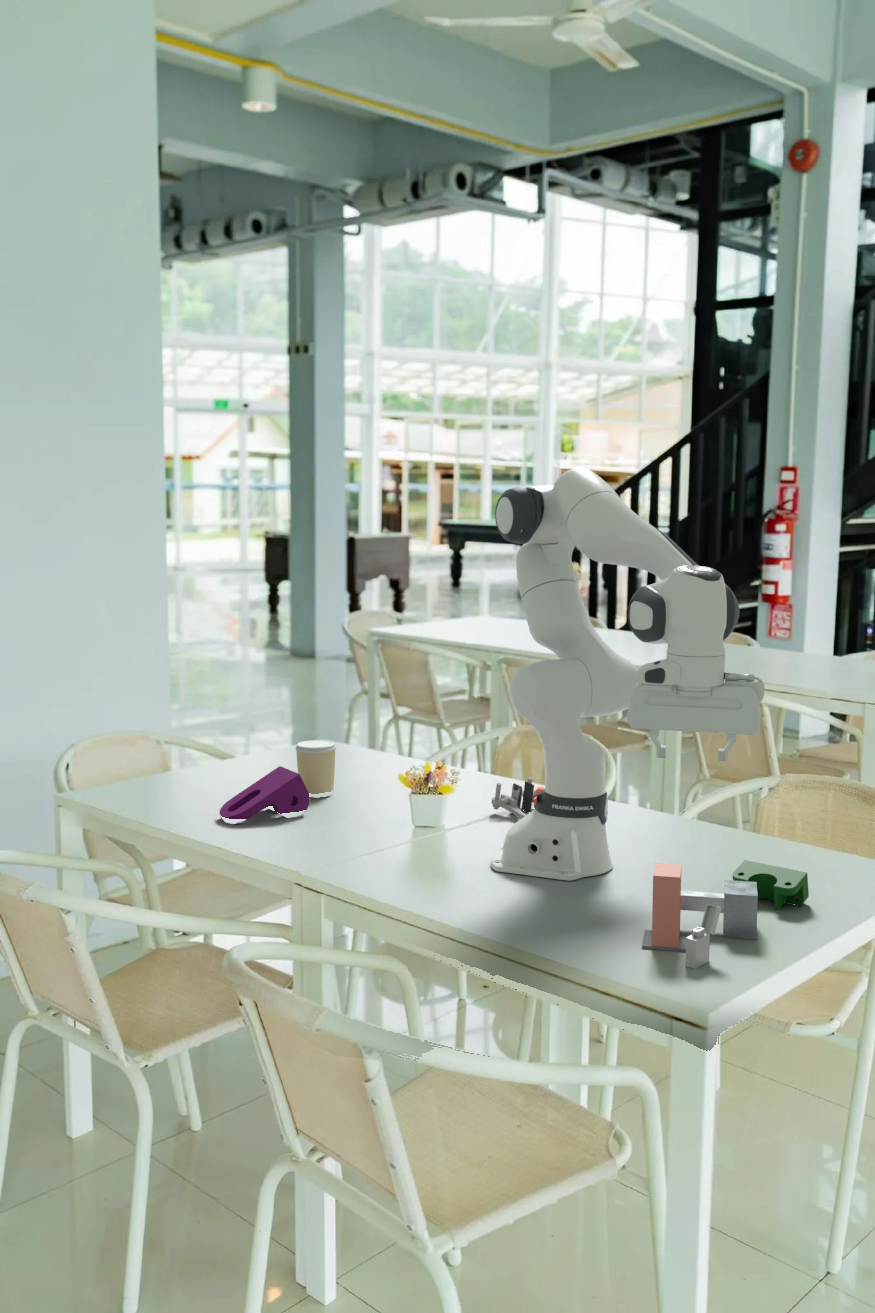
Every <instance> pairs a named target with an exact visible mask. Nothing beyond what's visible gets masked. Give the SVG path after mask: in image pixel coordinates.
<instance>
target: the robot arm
mask: <svg viewBox="0 0 875 1313" xmlns="http://www.w3.org/2000/svg"><path fill="white" fill-rule="evenodd" d="M496 502H497V503H496V504H495V505H496V507H495V512H494V516H495V518H494V519H495V525H496V528H497V531H498V532H499V534H500V536H501V537H502V538H503V539H504V540H505V541H507V542H509V543H513V544H520V545H521V546H520V547H519V549H518V550H517V553H516V557H515V562H516V563H515V565H516V579H517V583H518V589H519V596H520V598H521V603H522V606H523V611H524V614H525V617H526V621H527V622H526V623H527V625H528V630H529V633H530V635H531V637H532V638H533V640H534V641H535V642H536V643H537V644H539V645H540V646H542V647H544V648H546V649H548V650H550V651H551V652H552V653H554V654H555V655H556V656H557V657H558V659H545V660H544V659H543V660H540V661H536V662H532V663H529V664H526V665H523V666H520V667H518V668H517V670H516V671H515V672H514V674H513V676H512V678H511V680H510V685H509V698H510V701H511V705H512V706H513V708H514V710H515V711H516V713H517V714H518V715H519V716H521V717H522V718H523V719H525V720H526V721H527V722H528V723H529V724H530V725H531V726H532V728H533V729H534V730H535V732H536V734H537V735H538V736H537V737H538V738H539V740H540V743H541V746H542V752H543V758H544V759H543V762H544V764H543V765H544V786H538V787H536V789H534V791H535V792H534V803H533V808H534V809H533V810H531V812H530V813H526V816H524V817H523V818H522V819H520V818H519V820H517V821H516V822H515V823H514V824H512V825H511V826H510V827H509V829H508V830H507V832H506V833H505V834H506V835H505V837H504V840H503V846H502V848H500V849H498V850H496V851H495V852H494V854H492V856H491V861H490V867H491V868H492V870H494V871H496V872H500V873H509V874H515V875H516V874H517V875H524V876H531V877H538V878H546V879H554V880H561V881H569V882H570V881H575V880H576V881H577V880H579V879H581V878H584V877H585V878H586V877H592V876H598V875H602V874H606V873H608V872H610V871H611V870H612V868H613V866H614V864H613V862H612V858H611V856H610V855H611V854H610V849H609V844H608V837H607V835H608V834H607V826H606V825H607V824H606V823H607V821H608V812H609V810H608V809H609V806H608V805H609V804H608V802H609V801H608V800H609V799H608V792H607V790H606V755H605V754H606V753H605V751H604V750H603V748H602V747H601V745H600V744H599V743H598V742H597V741H595V740H593V739H592V738H590V737H588V736H586V735H585V734H583V731H582V726H581V719H582V718H591V717H603V716H611V715H614V714H618V713H622V712H623V711H626V710H627V716H626V717H627V718H626V719H627V720H626V721H627V724H628V726H630V728H631V729H634V730H635V729H636V730H637V729H638V730H649V738H650V740H651V741H652V743H653V744H654V746H655V748H656V749H655V750H656V752H655V753H656V754H655V755H656V756H655V757H656V758H657V759H666V757H667V748H668V747H667V744H666V745H664V744H662V743H661V741H660V739H659V738H658V737H659V736H660V732H661V731H673V732H674V731H675V732H691V733H708V734H709V733H711V734H726V740H727V741H728V742H727V743H726V745H725V746H724V747H723V748H720V747H719V748H718V752H717V753H718V758H717V760H718V762H721V763H728V762H729V760H728V759H729V752H730V751H731V749H732V748H733V746H734V744H735V743H736V742H737V735H744V736H745V735H746V736H747V735H748V736H755V735H757V733H759V731H761V711H760V710H761V709H760V704H761V702H762V701H763V699H764V697H765V683H764V682H763V680H762V679H760V678H759V677H756V676H755V674H753V673H752V674H751V673H745V674H744V673H743V674H742V673H741V674H740V673H736V672H734V673H733V672H725V670H726V669H725V665H726V648H725V644H724V641H726V639H727V638H728V637H729V636H730V635H731V634H732V633H733V631H734V630H735V628H736V626H737V624H738V621H739V619H740V618H739V617H740V605H739V602H738V599H737V597H736V595H735V593H734V592H733V591H732V589H731V588H730V586H729V585H727V584H726V583H725V579H724V576H723V574H722V573H721V572H720V571H718V570H717V569H715V568H713V567H709V566H703V565H702V566H701V565H699V564H698V563H697V562H696V561H694V559H693V558H691V557H690V555H688V554H687V552H685V551H684V549H682V548H681V547H680V545H678V544H677V543H676V542H675V541H674V540H673V539H672V538H670V536H668V535H667V534H666V533H664V532H663V531H662V530H660V529H658V528H657V527H655V526H654V525H652V524H651V523H649V522H648V521H646V520H645V519H643V518H642V517H641V516H639V515H638V514H637V513H636V512H635V511H634V510H632V508H630V507H629V506H628V505H627V504H626V503H625V502H624V501H623V500H622V499H621V497H620V496H619V494H618V493H617V492H616V491H615V490H614V489H613V488H612V486H611V485H609V483H608V482H607V481H605V480H604V479H603V478H602V477H601V476H599V475H598V474H597V473H596V472H594V471H592V470H591V469H589V468H586V467H576V468H575V467H574V468H570V469H569V470H566V471H565V472H563V473H561V475H560V476H558V478H557V479H556V480H555V482H554V483H551V484H541V485H540V484H539V485H532V486H530V485H529V486H526V485H519V486H515V487H512V488H508V489H506V490H505V491H504V492H502V494H501V495H500V497H499V498H498V500H497V501H496ZM574 550H577V551H579V552H581V553H582V554H583V555H584V556H586V557H587V558H589V560H590V559H591V560H592V561H594V562H597V563H600V564H605V565H606V564H607V565H612V566H613V565H614V566H615V565H616V566H623V567H627V568H628V567H629V568H633V569H634V568H635V569H637V570H638V569H639V570H642V571H646V572H648V573H650V574H652V575H654V576H656V577H658V578H659V579H660V581H657V582H654V583H651V584H648V585H644V586H640V587H639V588H637V590H635V592H634V593H633V594H632V596H631V599H630V601H629V603H628V607H627V621H628V625H629V629H630V630H631V632H632V633H633V635H634V636H635V637H636V638H637V639H639V640H640V641H641V642H642V643H647V644H652V645H656V644H657V645H658V644H659V645H661V644H664V645H665V644H667V649H666V658H663V659H659V660H656V661H652V662H648V663H645V664H642V665H641V666H639V668H638V669H637V667H635V665H634V664H633V663H632V662H631V661H630V660H629V659H627V658H624V657H623V656H621V655H620V654H618V653H617V652H615V651H614V650H613V649H612V648H611V647H610V646H609V644H607V643H606V642H605V641H604V640H603V638H602V637H601V636H600V634H599V633H598V632H597V630H596V629H595V627H594V625H593V623H592V622H591V619H590V616H589V614H588V611H587V609H586V606H585V602H584V599H583V596H582V593H581V589H580V585H579V582H578V579H577V576H576V573H575V570H574V567H573V562H572V560H573V559H572V557H573V552H574Z"/></svg>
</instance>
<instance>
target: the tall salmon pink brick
mask: <svg viewBox="0 0 875 1313" xmlns="http://www.w3.org/2000/svg"><path fill="white" fill-rule="evenodd" d="M682 867H683V866H682V864H675V863H674V864H672V863H670V864H669V863H659V862H658V863H656V862H655V863H654V868H653V873H652V907H651V908H652V911H651V912H652V913H651V914H652V916H651V917H652V918H651V920H652V921H651V930H652V946H660V947H672V948H679V936H680V933H681V911H682V910H681V891H682Z"/></svg>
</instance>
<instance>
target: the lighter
mask: <svg viewBox="0 0 875 1313" xmlns="http://www.w3.org/2000/svg"><path fill="white" fill-rule="evenodd" d="M720 911H721V908H720V907H719V906H716V905H712V904H707V905H706V909H705V912H704V914H703V917H702V922H701V926H696V927H695V928H693V929H691V930H692V931H691V934H690V936H688V937H686V952H685V958H684V959H685V962H684V963H685V967H687V968H689V969H697V968H698V969H699V968H700V967H702V966H703V965H705V964H707V963H709V962H710V943H711V941H710V940H711V935H715V934H716V930H717V926H718V922H719V917H720V914H721V913H720Z"/></svg>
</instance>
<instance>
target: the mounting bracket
mask: <svg viewBox="0 0 875 1313" xmlns="http://www.w3.org/2000/svg"><path fill="white" fill-rule="evenodd" d="M310 799H311V798H310V797H309V793H308V790H307V788H306V786H305V784H304V782H303V780H302V778H301V776H300V774H298V772H295V771H293V770H290V769H288V768H285V767H284V766H282V765H278V766H277V767H276V768H274V769H273V770H271V771H270V772H269V773H267V774H265V775H264V776H263V777H261V778H260V779H258V780H257V781H255V782H254V783H252V784H251V785H249V786H248V787H247V788H244V790H242V791H240V792H239V793H238V794H236V795H234V796H233V797H231V798H230V799H229V800H227V801H226V802H225V803H224V804H223V805H222V806H221V807H220V809H219V812H218V813H219V815H220V817H221V816H222V817H225V818H229V819H248V820H249V819H251V818H253V817H254V816H255V815H258V814H259V813H260V812H262V811H263V810H264V809H266V807H268V806H273V808H274V810H275V812H276V813H277V812H278V813H280V814H282V813H290V812H299V811H303V810H306V811H307V810H308V808H309V806H310ZM278 813H277V814H278ZM222 817H221V818H222Z"/></svg>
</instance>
